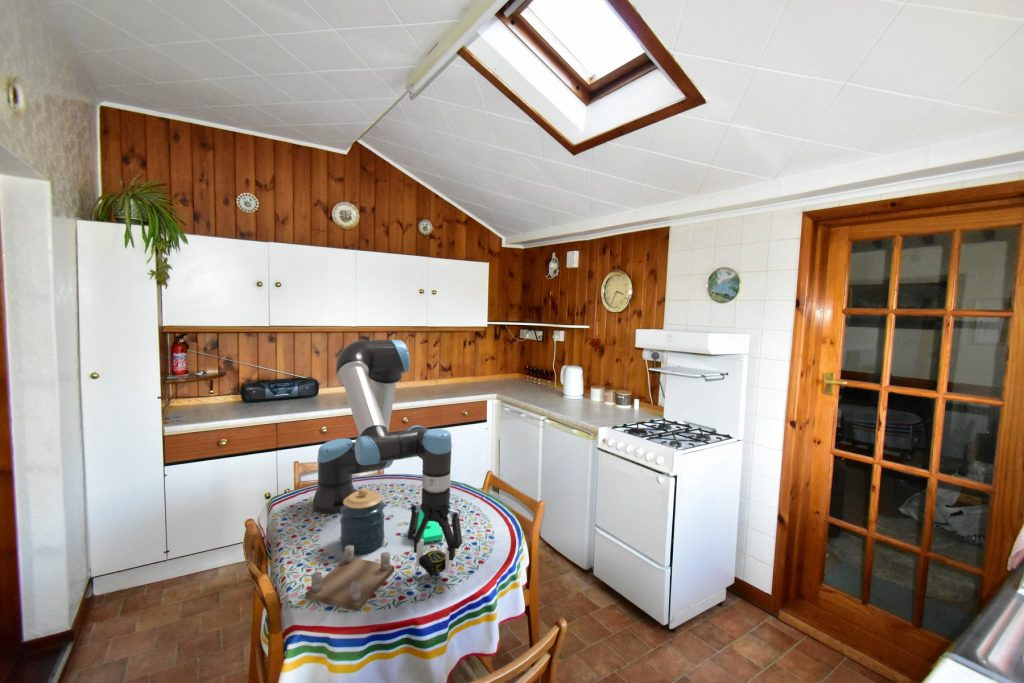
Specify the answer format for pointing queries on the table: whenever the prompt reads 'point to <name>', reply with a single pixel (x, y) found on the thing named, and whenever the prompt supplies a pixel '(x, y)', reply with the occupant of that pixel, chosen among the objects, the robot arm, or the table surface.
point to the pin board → (350, 581)
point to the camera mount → (429, 529)
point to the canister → (362, 521)
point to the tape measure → (433, 562)
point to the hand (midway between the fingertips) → (433, 566)
